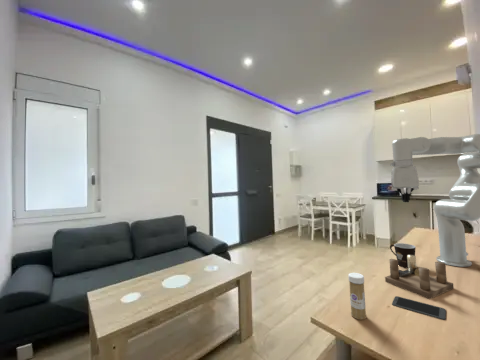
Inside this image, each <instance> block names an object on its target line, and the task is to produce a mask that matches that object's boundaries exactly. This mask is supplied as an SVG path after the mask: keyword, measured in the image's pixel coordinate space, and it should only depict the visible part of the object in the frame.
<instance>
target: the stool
mask: <svg viewBox="0 0 480 360" xmlns="http://www.w3.org/2000/svg"><path fill="white" fill-rule="evenodd" d="M434 263H435V266H434V267H435V276H436V277H435V276H431V275H430V269H429V268H427V267H418V268H417V270H415V273H414V274H411V275H407V276H403V277H401V276H399V270H400V269H399V268H400V266H398V260H397V258H390V259H389V271H390V272H389V273H390V274H389V275H388V276H384V281H385V283H388V284H390V285H393V286H395V287H398V288H400V289H403V290H406V291H409V292H410V293H413V294H416V295H419V296H420V297H424V298H426V299H429V300H431V299H433V298H437V296H440V295H442V294H444V293H446V292H449V291H451V290H453V289H454V282H450V281H448V280H447V278H448V277H447V269H446V265H447V264H445V263H443V262H439V261H435V262H434ZM406 270H408V268H406Z"/></svg>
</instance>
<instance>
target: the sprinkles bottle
mask: <svg viewBox="0 0 480 360" xmlns="http://www.w3.org/2000/svg"><path fill="white" fill-rule="evenodd" d="M347 276H348V282H349V301H350V302H349V303H350V315H351V316H352V317H353V318H355V319H357V320H365V319H366V318H367V312H366V311H367V310H366V295H365V293H366V292H365V285H364V284H365V276H364V275H363V274H361V273H359V272H349V273H348V275H347Z"/></svg>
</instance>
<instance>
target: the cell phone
mask: <svg viewBox="0 0 480 360" xmlns="http://www.w3.org/2000/svg"><path fill="white" fill-rule="evenodd" d="M391 305H392V306H394V307H396V308H399V309H403V310H408V311H411V312H413V313H414V312H415V313H416V314H421V315H425V316H427V317H430V318H435V319H438V320H441V321H446V320H447V319H446V317H447V310H446V308H443V307H440V306H437V305H434V304H433V305H432V304H429V303H425V302H422V301H417V300H413V299H410V298H406V297H403V296H394V298H393V300H392V303H391Z"/></svg>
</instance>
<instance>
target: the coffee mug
mask: <svg viewBox="0 0 480 360" xmlns="http://www.w3.org/2000/svg"><path fill="white" fill-rule="evenodd" d="M392 247H394V251H393V249H392ZM416 249H417V248H416V246H415V245H413V244H409V243H402V242H401V243H394V244H391V245H390V246H389V250H390V251H391V252H392V253H393V255H394V256H395V257H396V260H398V265H399V266H398V267H399V268H400V267H401V268H403V269H408V262H407V255H414V256H416Z"/></svg>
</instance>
